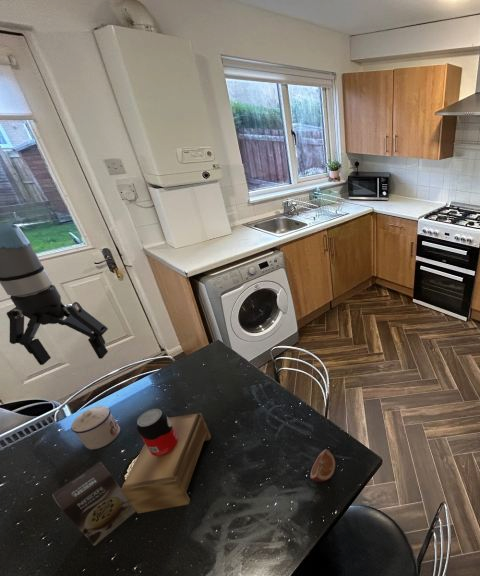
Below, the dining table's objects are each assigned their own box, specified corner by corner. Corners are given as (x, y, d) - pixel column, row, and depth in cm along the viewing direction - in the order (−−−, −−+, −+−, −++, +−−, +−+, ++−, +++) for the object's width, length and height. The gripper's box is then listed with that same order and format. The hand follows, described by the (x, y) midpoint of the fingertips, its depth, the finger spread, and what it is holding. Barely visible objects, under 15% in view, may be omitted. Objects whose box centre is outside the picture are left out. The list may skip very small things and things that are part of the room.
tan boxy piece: (137, 513, 79) (118, 487, 73) (169, 442, 96) (156, 416, 90) (188, 504, 81) (173, 477, 75) (211, 436, 98) (200, 410, 92)
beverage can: (170, 458, 81) (153, 428, 75) (145, 458, 81) (127, 428, 75) (183, 436, 86) (169, 407, 80) (161, 436, 86) (145, 406, 80)
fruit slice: (318, 456, 93) (316, 446, 90) (339, 460, 92) (338, 450, 89) (306, 485, 86) (304, 474, 83) (330, 490, 85) (328, 479, 82)
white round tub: (123, 438, 97) (107, 413, 92) (85, 456, 92) (66, 431, 86) (118, 414, 105) (103, 389, 100) (83, 430, 100) (65, 405, 94)
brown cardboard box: (94, 547, 73) (60, 511, 65) (83, 530, 76) (49, 494, 68) (137, 510, 80) (111, 474, 72) (126, 496, 83) (99, 460, 75)
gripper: (101, 278, 78) (133, 344, 89) (-17, 286, 74) (31, 354, 84) (82, 293, 72) (119, 362, 82) (-49, 302, 68) (8, 374, 78)
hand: (75, 358), depth 83 cm, fingers open, 13 cm apart
